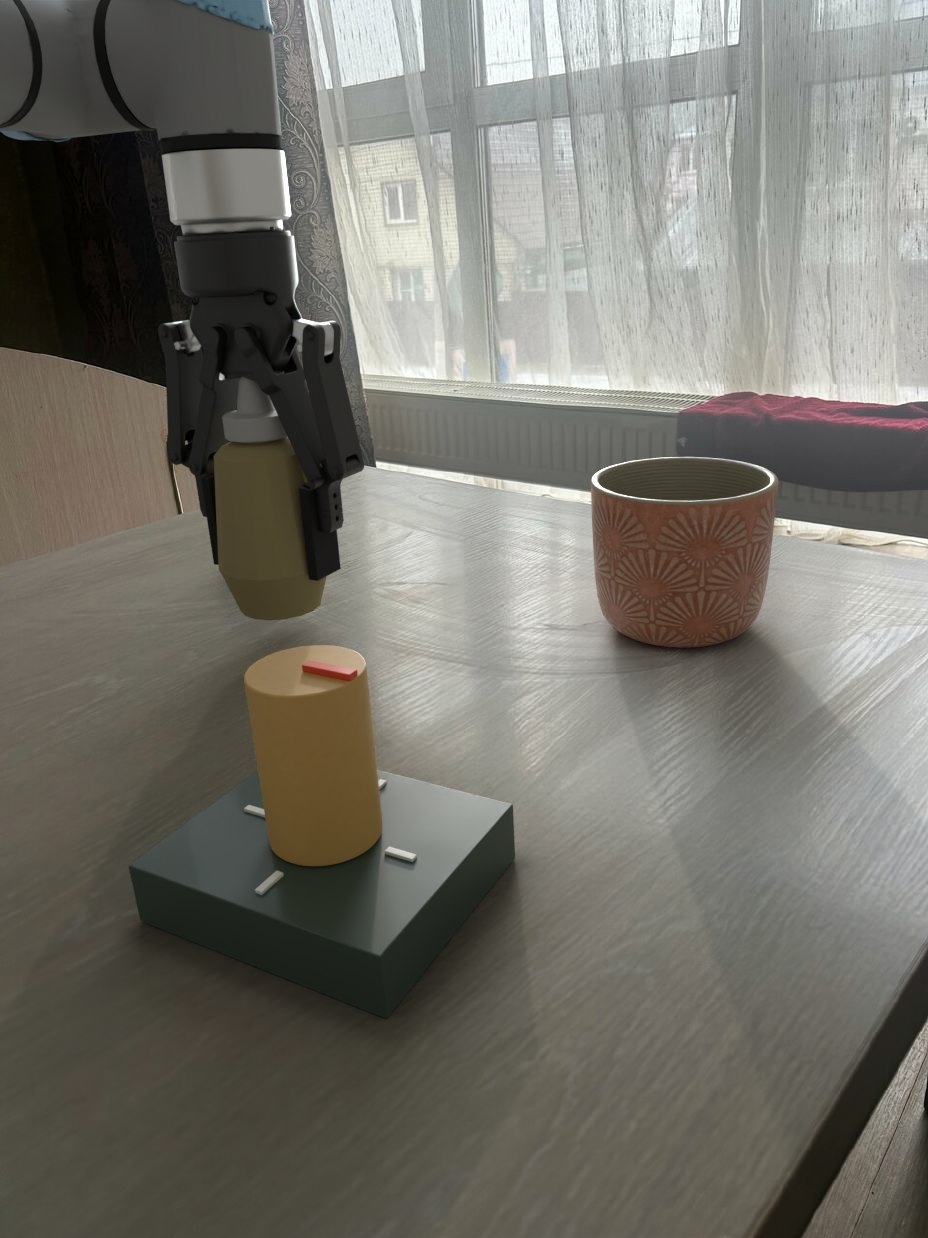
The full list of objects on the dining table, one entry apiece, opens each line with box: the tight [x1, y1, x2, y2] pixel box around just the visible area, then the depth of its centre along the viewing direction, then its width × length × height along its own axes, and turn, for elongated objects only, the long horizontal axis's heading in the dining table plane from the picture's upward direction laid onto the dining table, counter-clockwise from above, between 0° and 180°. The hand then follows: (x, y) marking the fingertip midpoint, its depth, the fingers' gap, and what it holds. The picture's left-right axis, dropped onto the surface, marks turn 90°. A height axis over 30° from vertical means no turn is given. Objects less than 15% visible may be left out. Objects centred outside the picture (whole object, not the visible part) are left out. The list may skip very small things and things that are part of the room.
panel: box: [127, 769, 516, 1019], centre depth 43 cm, size 13×11×3 cm
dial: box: [243, 644, 383, 866], centre depth 41 cm, size 5×5×8 cm
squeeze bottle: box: [214, 377, 328, 621], centre depth 68 cm, size 8×8×18 cm
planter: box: [590, 456, 779, 649], centre depth 67 cm, size 12×12×11 cm
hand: (276, 566), depth 70 cm, fingers closed on squeeze bottle, 8 cm apart
